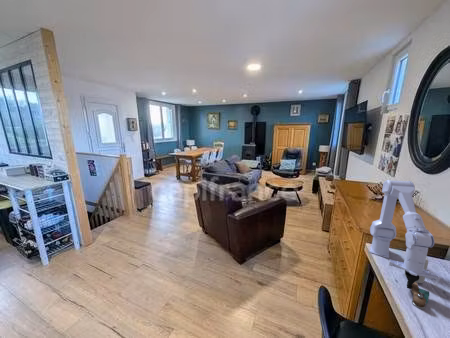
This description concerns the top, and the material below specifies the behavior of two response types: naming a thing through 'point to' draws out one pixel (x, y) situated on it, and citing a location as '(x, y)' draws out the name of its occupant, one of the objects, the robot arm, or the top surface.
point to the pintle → (415, 304)
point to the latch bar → (416, 299)
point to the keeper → (425, 294)
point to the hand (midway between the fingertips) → (408, 287)
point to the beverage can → (421, 278)
